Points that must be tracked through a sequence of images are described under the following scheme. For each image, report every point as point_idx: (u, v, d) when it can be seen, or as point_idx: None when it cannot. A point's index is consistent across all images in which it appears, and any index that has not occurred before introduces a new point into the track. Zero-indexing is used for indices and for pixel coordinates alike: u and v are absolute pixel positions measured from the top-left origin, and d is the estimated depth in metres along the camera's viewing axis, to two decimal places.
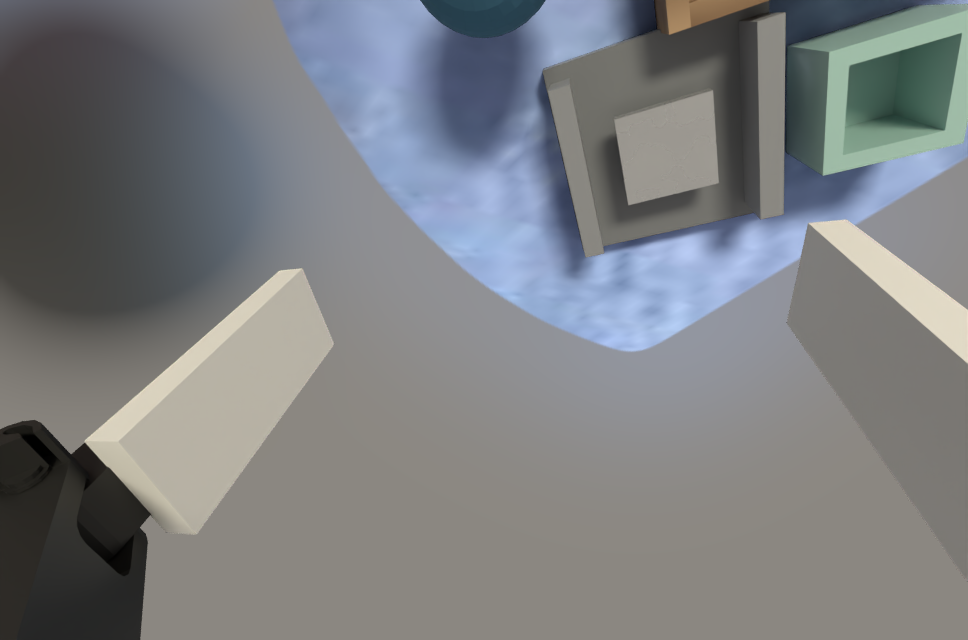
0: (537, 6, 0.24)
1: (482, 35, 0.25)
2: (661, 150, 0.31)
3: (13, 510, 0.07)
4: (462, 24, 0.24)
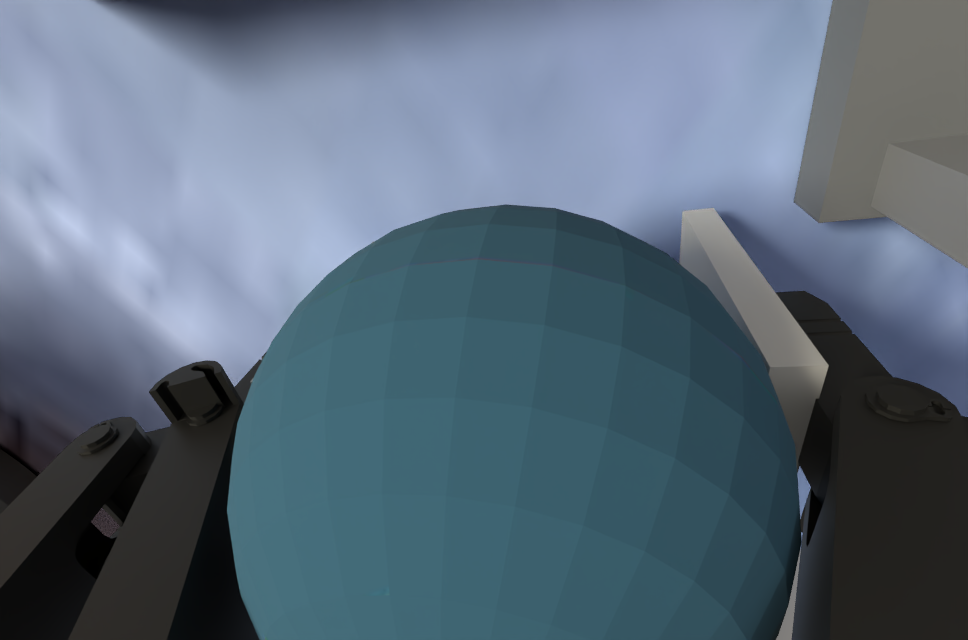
0: (773, 402, 0.05)
1: None
2: None
3: (192, 442, 0.08)
4: None
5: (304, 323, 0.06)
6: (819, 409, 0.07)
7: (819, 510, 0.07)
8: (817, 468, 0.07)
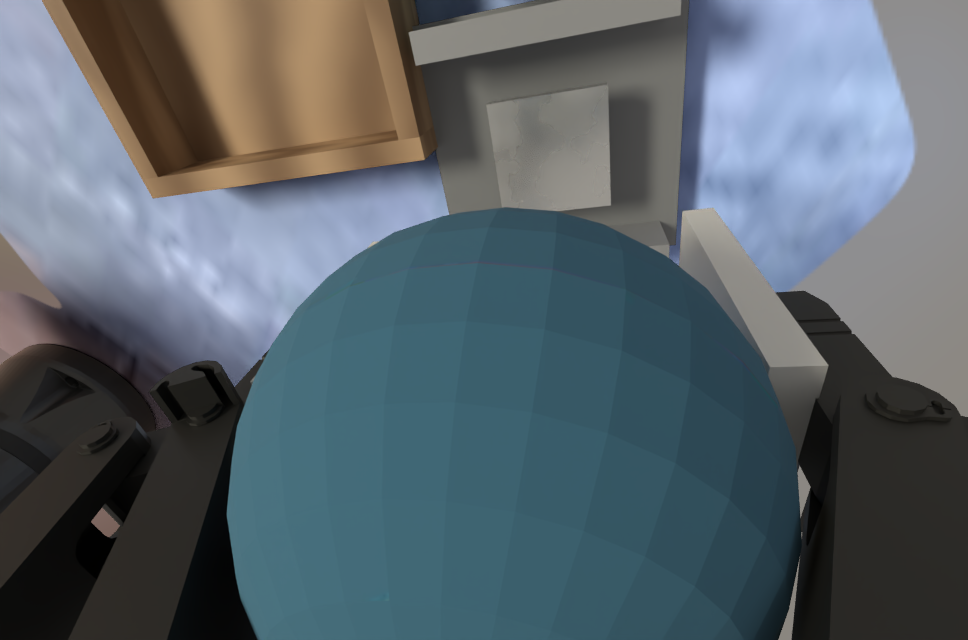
0: (774, 406, 0.05)
1: None
2: (547, 164, 0.24)
3: (192, 442, 0.08)
4: None
5: (303, 326, 0.06)
6: (819, 409, 0.07)
7: (819, 510, 0.07)
8: (817, 468, 0.07)
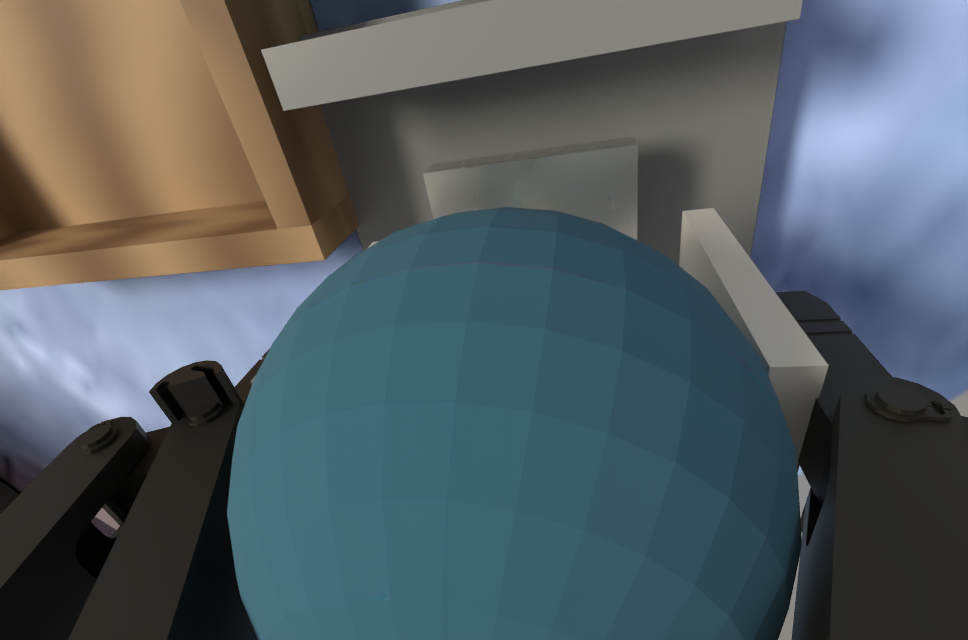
0: (774, 406, 0.05)
1: None
2: None
3: (192, 442, 0.08)
4: None
5: (304, 325, 0.06)
6: (819, 409, 0.07)
7: (819, 510, 0.07)
8: (817, 468, 0.07)
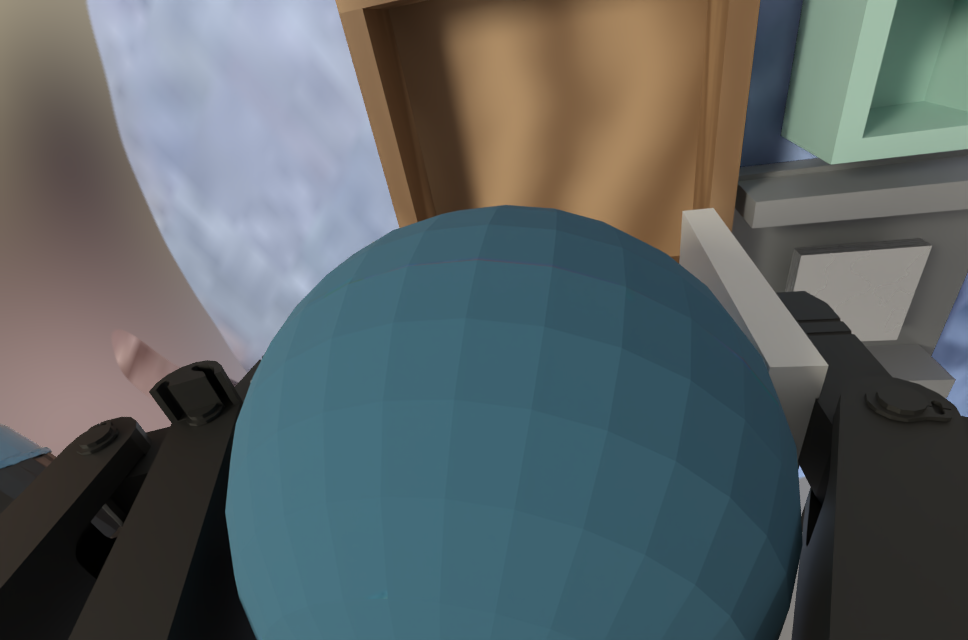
0: (775, 404, 0.05)
1: None
2: (844, 304, 0.26)
3: (193, 442, 0.08)
4: None
5: (303, 324, 0.05)
6: (819, 409, 0.07)
7: (819, 510, 0.07)
8: (817, 468, 0.07)
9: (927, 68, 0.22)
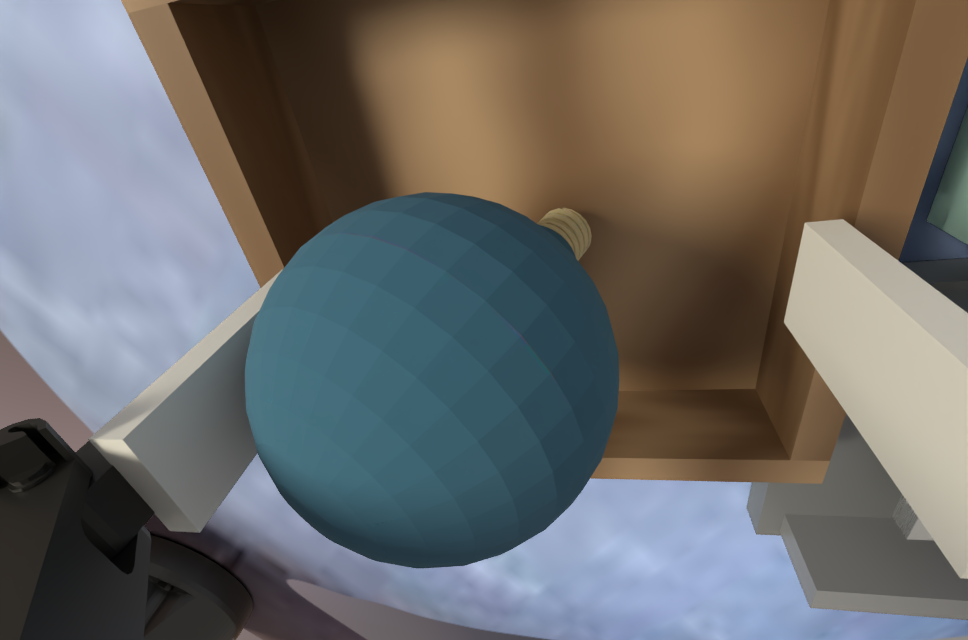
0: (545, 372, 0.07)
1: (573, 497, 0.09)
2: None
3: (18, 508, 0.07)
4: None
5: (295, 255, 0.09)
6: None
7: None
8: None
9: None
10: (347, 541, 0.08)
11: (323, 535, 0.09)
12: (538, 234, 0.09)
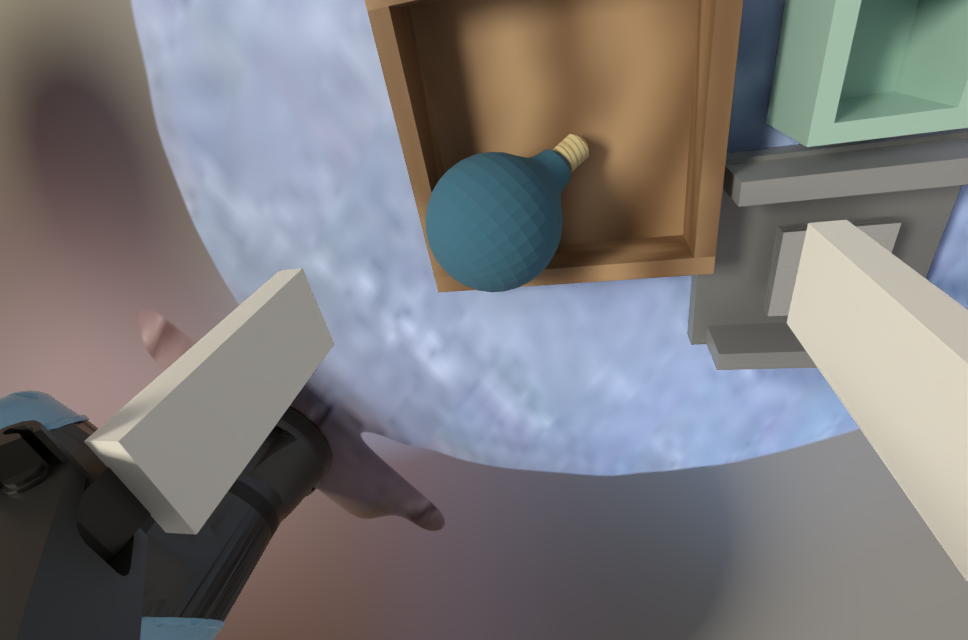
0: (514, 249, 0.25)
1: (526, 280, 0.27)
2: None
3: (13, 510, 0.07)
4: (508, 289, 0.28)
5: (443, 184, 0.26)
6: None
7: None
8: None
9: (896, 62, 0.25)
10: (455, 279, 0.28)
11: None
12: (528, 194, 0.25)
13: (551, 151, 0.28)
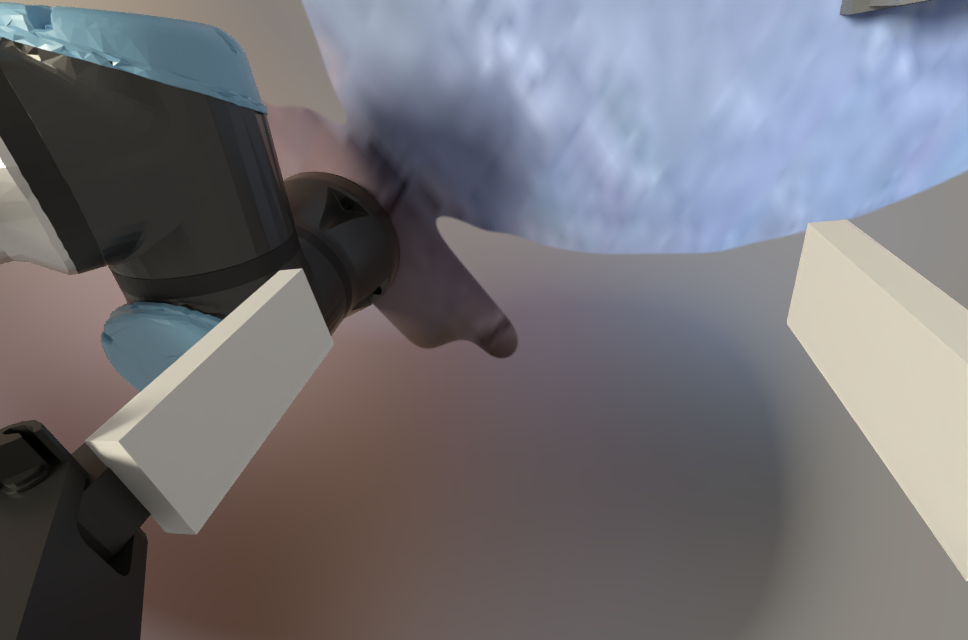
0: None
1: None
2: None
3: (13, 510, 0.07)
4: None
5: None
6: None
7: None
8: None
9: None
10: None
11: None
12: None
13: None
